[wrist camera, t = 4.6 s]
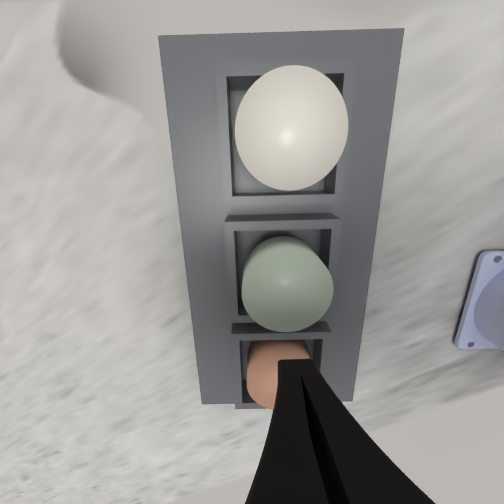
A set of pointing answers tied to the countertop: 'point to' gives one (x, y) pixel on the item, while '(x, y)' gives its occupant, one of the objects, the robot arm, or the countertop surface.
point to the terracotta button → (270, 366)
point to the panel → (275, 193)
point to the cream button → (291, 127)
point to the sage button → (285, 285)
